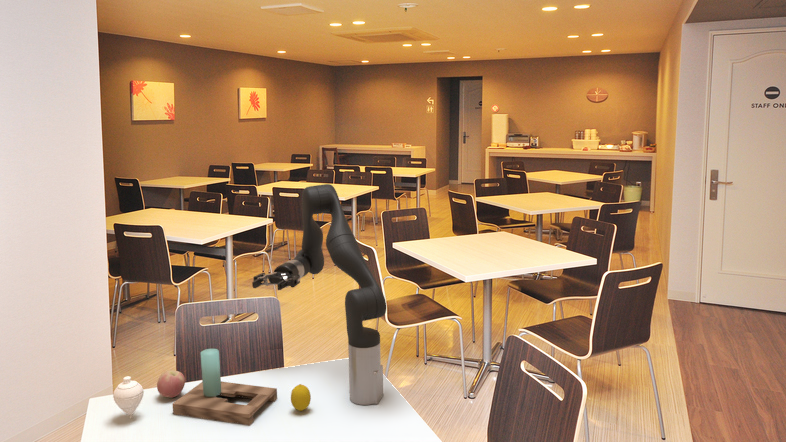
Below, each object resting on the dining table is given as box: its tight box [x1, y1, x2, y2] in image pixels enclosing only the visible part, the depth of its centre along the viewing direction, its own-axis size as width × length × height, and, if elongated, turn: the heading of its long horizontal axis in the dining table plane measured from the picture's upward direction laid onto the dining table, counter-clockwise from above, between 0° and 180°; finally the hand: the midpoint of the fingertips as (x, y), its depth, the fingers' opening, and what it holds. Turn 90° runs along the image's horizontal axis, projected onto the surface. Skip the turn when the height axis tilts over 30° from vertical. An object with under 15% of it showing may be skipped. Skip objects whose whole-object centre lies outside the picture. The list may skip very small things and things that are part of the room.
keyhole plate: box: [172, 381, 278, 426], centre depth 171 cm, size 24×16×3 cm, turn 74°
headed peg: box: [200, 348, 223, 398], centre depth 171 cm, size 5×5×16 cm
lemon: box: [290, 383, 312, 412], centre depth 167 cm, size 6×6×8 cm
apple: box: [156, 369, 186, 399], centre depth 176 cm, size 8×8×8 cm
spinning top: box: [112, 375, 145, 419], centre depth 164 cm, size 8×8×12 cm
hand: (266, 286), depth 185 cm, fingers open, 8 cm apart
